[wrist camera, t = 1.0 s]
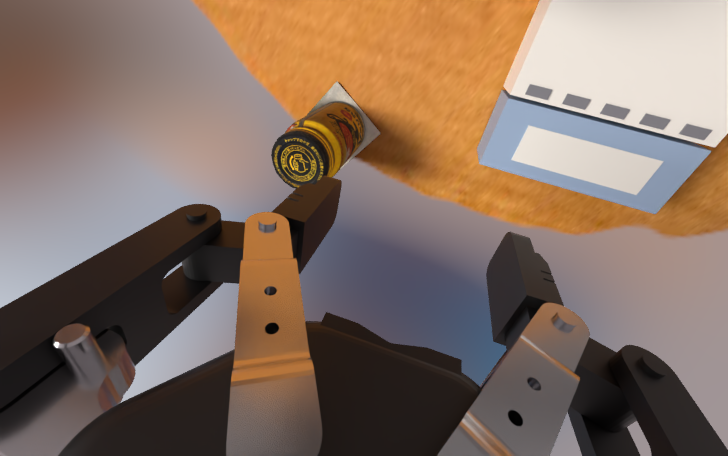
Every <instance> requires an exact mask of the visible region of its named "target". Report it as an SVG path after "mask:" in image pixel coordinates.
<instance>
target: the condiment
mask: <svg viewBox="0 0 728 456" xmlns="http://www.w3.org/2000/svg"><path fill="white" fill-rule="evenodd" d="M380 134H381V133H380V132H379V130H378V129H377V128H376V127H375V126H374V124H373V123H372V122H371V121H370V119H369V118H368V117H367V116H366V115H365V113H364V112H363V111H362V110H361V109H360V108H359V106H358V105H357V104H356V103H355V102H354V100H353V99H352V98H351V97H350V96H349V95H348V94H347V93H346V91H345V90H344V89H343V88H342V87H341V85H340V84H339V83H338V82H336V83H335V84H334V85H333V86H332V87H331V89H330V90H329V91H328V92H327V93H326V94H325V95H324V96H323V98H322V99H321V100H320V101H319V102H318V103H317V104H316V106H315V107H314V108H313V109H312V110H311V111H310V112H309V113H308V114H307V116H305V117H304V118H302V119H300V120H298V121H297V122H295V123H293V124H292V125H291V126H290V127H289V128H288V129H287V131H286V132H285V134H283V135H282V136H281V137H279V138H278V139H277V141H276V142H275V144H274V146H273V149H272V155H271V156H272V161H273V165H274V167H275V170H276V172H277V174H278V175H279V176H280V178H281V179H282V180H283V181H284V182H285V183H287V184H288V185H290V186H291V187H293V188H296V189H297V188H298V187H299V186H302V185H304V184H307V183H311V184H314V185H315V184H316V183H317V182H318V181H319V180H320V179H321V178H322V177H323V176H328V177H331V178H332V177H333V176H334V175H335V174H336V173H337V172H338V171H339V170H340V169H341V168H343V167H344V166H345V165H346V164H347V163H348V162H349V161H350V160H352V159H353V158H354V157H355V156H356V155H357V154H358V153H359V152H360V151H362V150H363V149H364V148H365V147H366V146H367V145H368V144H369V143H371V142H372V141H373V140H374V139H375V138H376V137H377V136H379V135H380Z"/></svg>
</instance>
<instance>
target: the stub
mask: <svg viewBox="0 0 728 456" xmlns="http://www.w3.org/2000/svg"><path fill="white" fill-rule="evenodd" d="M477 152H478V159H479V164H481V165H485V166H488V167H492V168H495V169H499V170H502V171H506V172H509V173H513V174H516V175H520V176H523V177H527V178H530V179H534V180H537V181H541V182H544V183H548V184H551V185H555V186H558V187H562V188H565V189H569V190H572V191H576V192H579V193H583V194H586V195H590V196H593V197H597V198H600V199H604V200H607V201H611V202H614V203H618V204H621V205H625V206H628V207H632V208H635V209H639V210H642V211H646V212H649V213H653V214H656V213H657V212H658V211H659V210H660V209H661V208H662V206H663V205H664V204H665V203H666V202H667V201H668V200H669V199H670V197H671V196H672V195H673V194H674V193H675V192H676V191H677V190H678V188H679V187H680V186H681V185H682V184H683V183H684V182H685V181H686V179H687V178H688V177H689V176H690V175H691V174H692V173H693V172H694V170H695V169H696V168H697V167H698V166H699V165H700V164H701V163H702V162H703V160H704V159H705V158H706V157H707V156H708V155H709V154H710V153H711V151H710V150H708V149H706V148H704V147H702V146H700V145H697V144H695V143H693V142H691V141H687V140H684V139H680V138H676V137H672V136H668V135H664V134H660V133H656V132H653V131H649V130H645V129H641V128H637V127H633V126H629V125H626V124H622V123H618V122H614V121H610V120H606V119H602V118H598V117H595V116H591V115H587V114H583V113H579V112H575V111H571V110H568V109H564V108H560V107H556V106H552V105H548V104H544V103H540V102H537V101H533V100H529V99H525V98H521V97H517V96H513V95H510V94H509V93H508V92H507V91H505V90H502V91H501V93H500V96H499V98H498V100H497V103H496V105H495V108H494V110H493V112H492V115H491V117H490V119H489V122H488V124H487V126H486V129H485V131H484V133H483V136H482V138H481V140H480V143H479V145H478V147H477Z"/></svg>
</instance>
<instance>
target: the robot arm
mask: <svg viewBox="0 0 728 456" xmlns="http://www.w3.org/2000/svg"><path fill="white" fill-rule="evenodd" d="M340 191H341V180H338V179H334V178H331V177H328V176H323V177H322V178H321V179H320V180H319V181H318V182H317V183H316V184H315V185H314V184H311V183H307V184H304V185H302V186H299V187H298V188H297V189H296V190H295V191H294V192H293V193H292V194H290V195H289V196H288V198H286V199H285V200H284V201H283V202H282V203H281V204H280V205H279V206H278V207H277V208H275V209H274V210H273V211H272V212H262V213H257V214H254V215H252V216H250V217H249V218H248V219H247V220H246V222H245V223H243V222H232V221H222V220H221V213H220V211H219V210H218V209H217V208H215V207H213V206H210V205H206V204H192V205H188V206H184V207H181V208H179V209H177V210H176V211H174V212H172V213H170V214H168V215H167V216H165V217H163V218H161V219H160V220H158V221H156V222H154V223H152V224H151V225H149V226H147V227H145V228H143V229H142V230H140V231H138V232H136V233H134V234H133V235H131V236H129V237H127V238H125V239H124V240H122V241H120V242H118V243H116V244H115V245H113V246H111V247H109V248H107V249H106V250H104V251H102V252H100V253H99V254H97V255H95V256H93V257H91V258H90V259H88V260H86V261H84V262H83V263H81V264H79V265H77V266H75V267H73V268H72V269H70V270H68V271H66V272H65V273H63V274H61V275H59V276H57V277H56V278H54V279H52V280H50V281H48V282H47V283H45V284H43V285H41V286H39V287H38V288H36V289H34V290H32V291H30V292H29V293H27V294H25V295H23V296H21V297H20V298H18V299H16V300H14V301H12V302H11V303H9V304H7V305H5V306H4V307H2V308H0V456H550V454H551V451H552V449H553V446H554V443H555V441H556V439H557V436H558V433H559V431H560V429H561V426H562V424H563V421H564V419H565V416H566V414H567V411H568V414H569V417H570V420H571V423H572V426H573V429H574V432H575V435H576V438H577V441H578V444H579V447H580V450H581V453H582V456H640V454H639V452H638V449H637V447H636V445H635V443H634V441H633V439H632V437H631V435H630V433H629V431H628V428H627V427H628V426H629V425H630V424H632V423H634V422H635V421H638V423H639V425H640V427H641V429H642V431H643V433H644V435H645V437H646V439H647V441H648V443H649V445H650V448H651V453H652V456H728V450H727V448H726V447H725V445H724V444H723V442H722V441H721V439H720V438H719V436H718V435H717V434H716V432H715V431H714V429H713V428H712V426H711V425H710V423H709V422H708V421H707V419H706V418H705V416H704V415H703V413H702V412H701V410H700V409H699V407H698V406H697V404H696V403H695V401H694V400H693V399H692V397H691V396H690V394H689V393H688V391H687V390H686V388H685V387H684V385H683V384H682V382H681V381H680V380H679V378H678V377H677V375H676V374H675V373H674V372H673V370H672V369H671V368H670V367H669V366H668V365H667V364H666V363H665V362H664V361H662V360H661V359H660V358H658V357H657V356H656V355H654V354H652V353H651V352H649V351H647V350H645V349H643V348H641V347H638V346H634V345H626V346H624V347H623V348H622V349H621V350H619V351H618V352H614V351H613V350H611V349H609V348H608V347H606V346H604V345H602V344H600V343H598V342H597V341H595V340H593V339H591V338H590V337H589V336H590V332H589V329H588V327H587V325H586V324H585V322H584V321H583V320H582V319H581V318H580V317H579V316H578V315H577V314H575V313H574V312H573V311H571V310H570V309H568V308H566V307H564V305H563V302H562V300H561V297H560V295H559V292H558V289H557V287H556V284H555V283H554V279H553V276H552V275H551V271H550V268H549V266H548V264H547V262H546V261H545V260H544V259H543V258H542V257H541V256H540V254H538V253H535V252H534V249H533V246H532V243H531V240H530V238H528V237H525V236H522V235H519V234H515V233H512V232H508V233H507V234H506V235H505V237H504V238H503V240H502V241H501V243H500V245H499V247H498V248H497V250H496V252H495V254H494V255H493V257H492V259H491V261H490V263H489V265H488V269H487V274H486V276H487V286H488V295H489V305H490V315H491V324H492V333H493V341H494V342H497V343H499V344H502V345H505V346H506V349H507V350H506V352H505V353H504V354H503V355H502V357H501V358H500V359H499V361H498V362H497V364H496V365H495V366H494V368H493V369H492V370H491V372H490V373H489V375H488V376H487V377H486V379H485V380H484V381H483V383H482V384H481V386H478V385H477V384H476V383H475V382H474V381H473V380H471V379H470V378H469V377H467V376H466V375H464V374H463V373H462V372H461V360H460V359H457V358H454V357H452V356H449V355H446V354H443V353H440V352H437V351H435V350H432V349H429V348H424V347H416V346H408V345H400V344H393V343H389V342H387V341H386V340H384V339H382V338H381V337H379V336H378V335H376V334H374V333H373V332H371V331H370V330H368V329H366V328H365V327H363V326H361V325H360V324H358V323H355V322H353V321H350V320H347V319H344V318H341V317H338V316H336V315H333V314H330V313H327V312H326V314H325V316H324V318H323V320H322V322H318V321H306V322H305V317H304V310H303V303H302V295H301V288H300V280H299V274H300V273H301V271H302V270H303V269H304V267H305V265H306V264H307V262H308V261H309V260H310V258H311V257H312V255H313V254H314V252H315V251H316V249H317V248H318V246H319V245H320V243H321V242H322V240H323V239H324V237H325V236H326V234H327V233H328V231H329V230H330V228H331V227H332V225H333V223H334V221H335V218H336V214H337V209H338V203H339V197H340ZM181 262H182V266H180V267H179V268H178V269H176V270H175V271H174V272H172V273H171V274H170V275H168V276H167V277H166V278H164V277H165V275H166V274H167V273H168V272H169V271H170V270H171V269H173V268H174V267H175V266H176V265H178V264H179V263H181ZM163 278H164V279H163ZM223 282H224V283H239V295H238V309H237V324H236V338H235V349H234V350H232V351H230V352H228V353H226V354H223V355H221V356H219V357H217V358H215V359H213V360H211V361H209V362H206V363H204V364H202V365H200V366H198V367H196V368H194V369H192V370H189V371H187V372H185V373H183V374H181V375H179V376H177V377H175V378H172V379H170V380H168V381H166V382H164V383H162V384H160V385H158V386H155V387H153V388H151V389H149V390H147V391H145V392H143V393H140V394H138V395H136V396H134V397H132V398H130V399H128V400H126V401H124V402H122V403H120V402H121V400H122V398H123V395H124V394H125V392H126V391H127V390H128V389H129V388H130V386H131V384H132V382H133V380H134V377H135V366H136V364H138V363H139V362H140V361H141V360H142V359H143V358H144V357H145V356H146V355H147V354H148V353H149V352H150V351H151V350H153V349H154V348H155V347H156V346H157V345H158V344H159V343H160V342H161V341H162V340H163V339H164V338H165V337H166V336H167V335H168V334H170V333H171V332H172V331H173V330H174V329H175V328H176V327H177V326H178V325H179V324H180V323H181V322H182V321H183V320H184V319H186V318H187V317H188V315H190V314H191V313H192V312H193V311H194V310H195V309H196V308H197V307H198V306H199V305H200V304H201V303H203V302H204V301H205V299H207V297H209V296H210V295H211V294H212V293H213V292H214V291H215V290H216V289H217V288H218V287H220V286H221V284H223ZM119 403H120V404H119Z"/></svg>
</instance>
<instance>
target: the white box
mask: <svg viewBox="0 0 728 456" xmlns="http://www.w3.org/2000/svg"><path fill="white" fill-rule="evenodd" d="M504 88H505V89H506V90H507V92H508V93H509V94H510V95H513V96H517V97H521V98H525V99H529V100H533V101H537V102H540V103H544V104H548V105H552V106H556V107H560V108H564V109H568V110H571V111H575V112H579V113H583V114H587V115H591V116H595V117H598V118H602V119H606V120H610V121H614V122H618V123H622V124H626V125H629V126H633V127H637V128H641V129H645V130H649V131H653V132H656V133H660V134H664V135H668V136H672V137H676V138H680V139H684V140H687V141H691V142H695V143H699V144H703V145H707V146H711V147H714V148H715V147H716V146H717V145H718V144H719V142H720V141H721V140H722V139H723V138H724V137H725V136H726V135H727V133H728V0H540V1H539V3H538V6H537V8H536V10H535V13H534V15H533V17H532V20H531V22H530V24H529V27H528V29H527V31H526V34H525V36H524V38H523V41H522V43H521V46H520V48H519V50H518V53H517V55H516V57H515V60H514V62H513V64H512V67H511V69H510V71H509V74H508V76H507V78H506V81H505V83H504Z"/></svg>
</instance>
